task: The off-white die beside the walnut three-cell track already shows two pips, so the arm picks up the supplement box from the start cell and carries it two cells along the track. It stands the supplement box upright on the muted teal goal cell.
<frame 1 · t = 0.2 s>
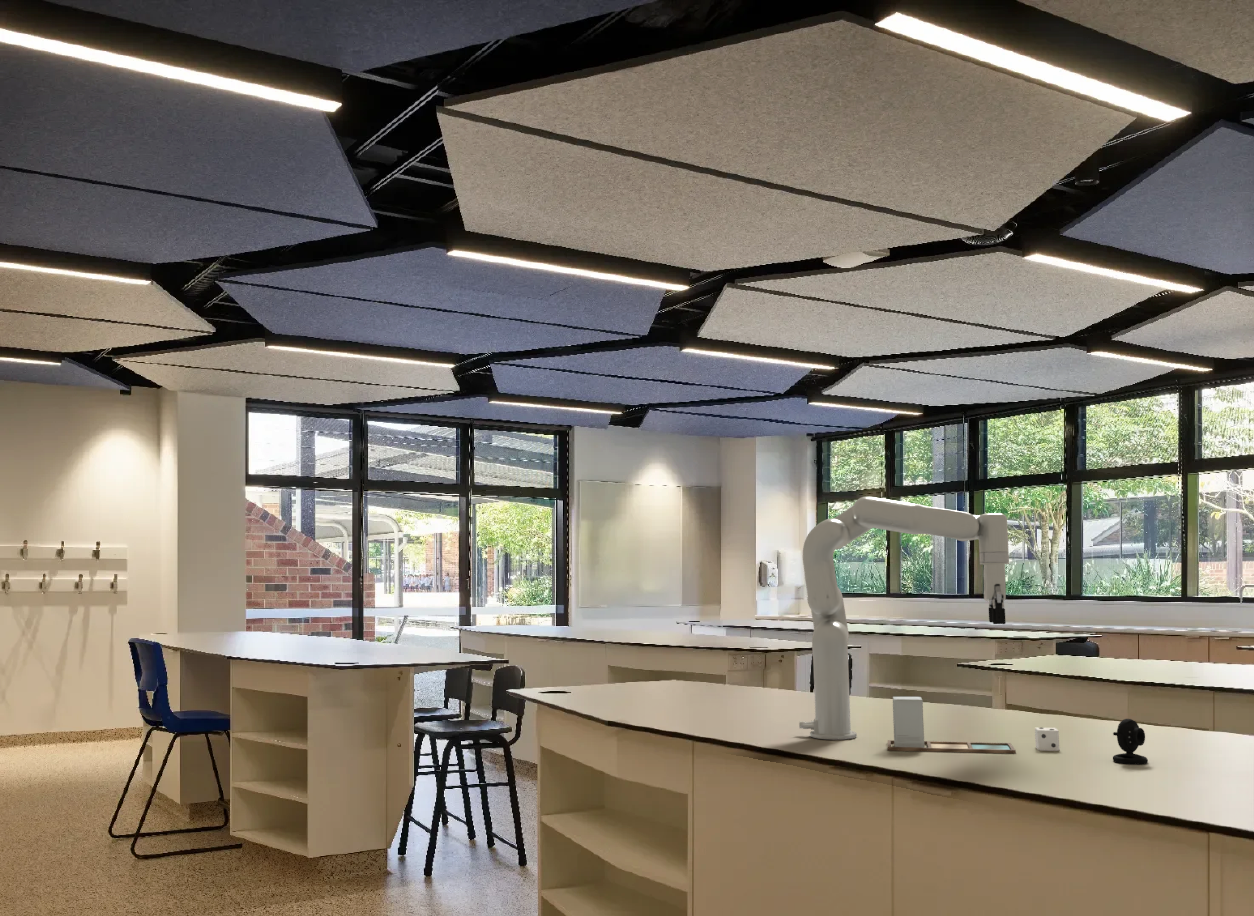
hand: (997, 623, 291), 31 cm above the worktop, tool pointing down, fingers open, 9 cm apart
supplement box: (909, 748, 279), resting on board
webcam: (1130, 762, 254), on the worktop
board: (949, 748, 277), on the worktop
die: (1047, 749, 274), on the worktop
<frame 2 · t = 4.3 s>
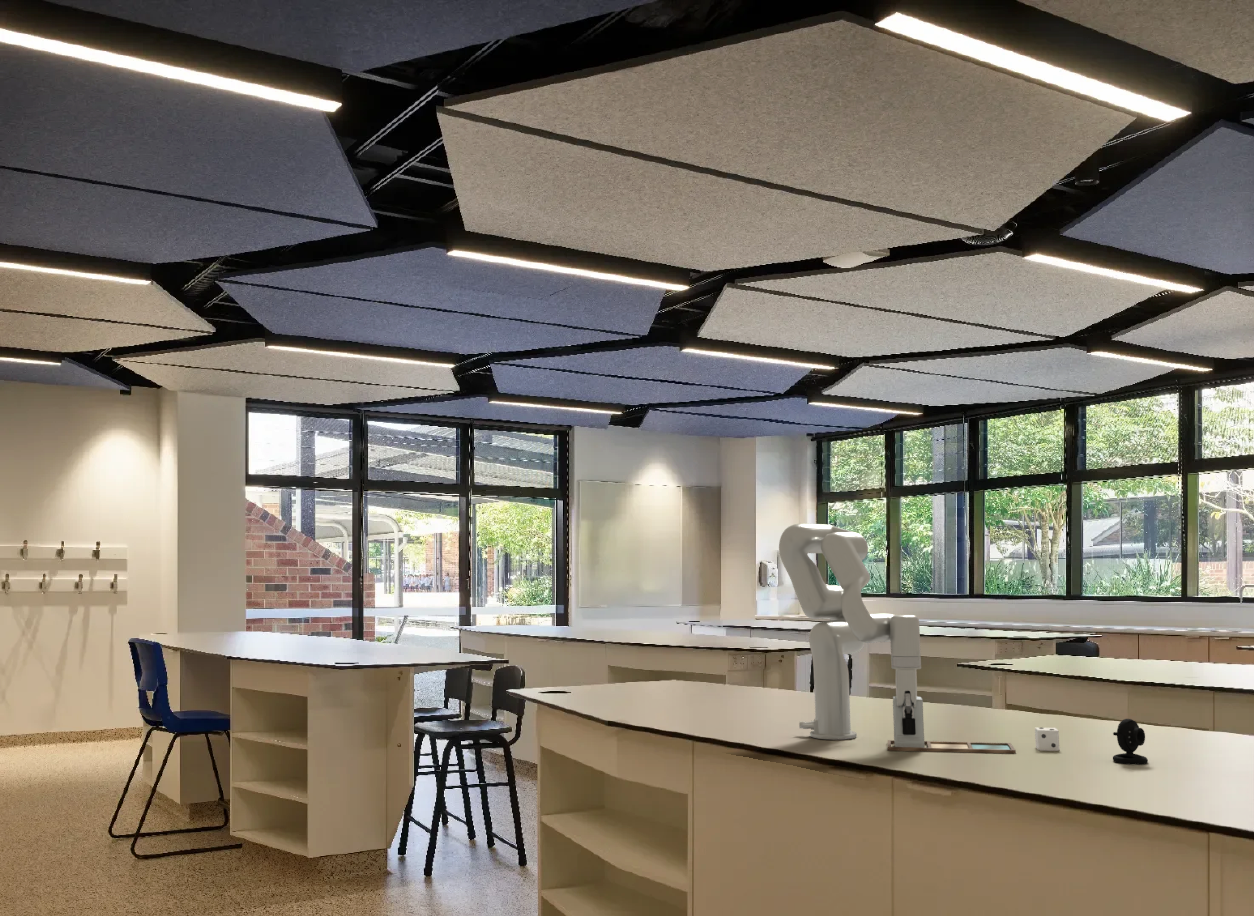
hand: (908, 731, 280), 4 cm above the worktop, tool pointing down, fingers closed on supplement box, 7 cm apart
supplement box: (909, 748, 279), resting on board, touching gripper
everything else where it was.
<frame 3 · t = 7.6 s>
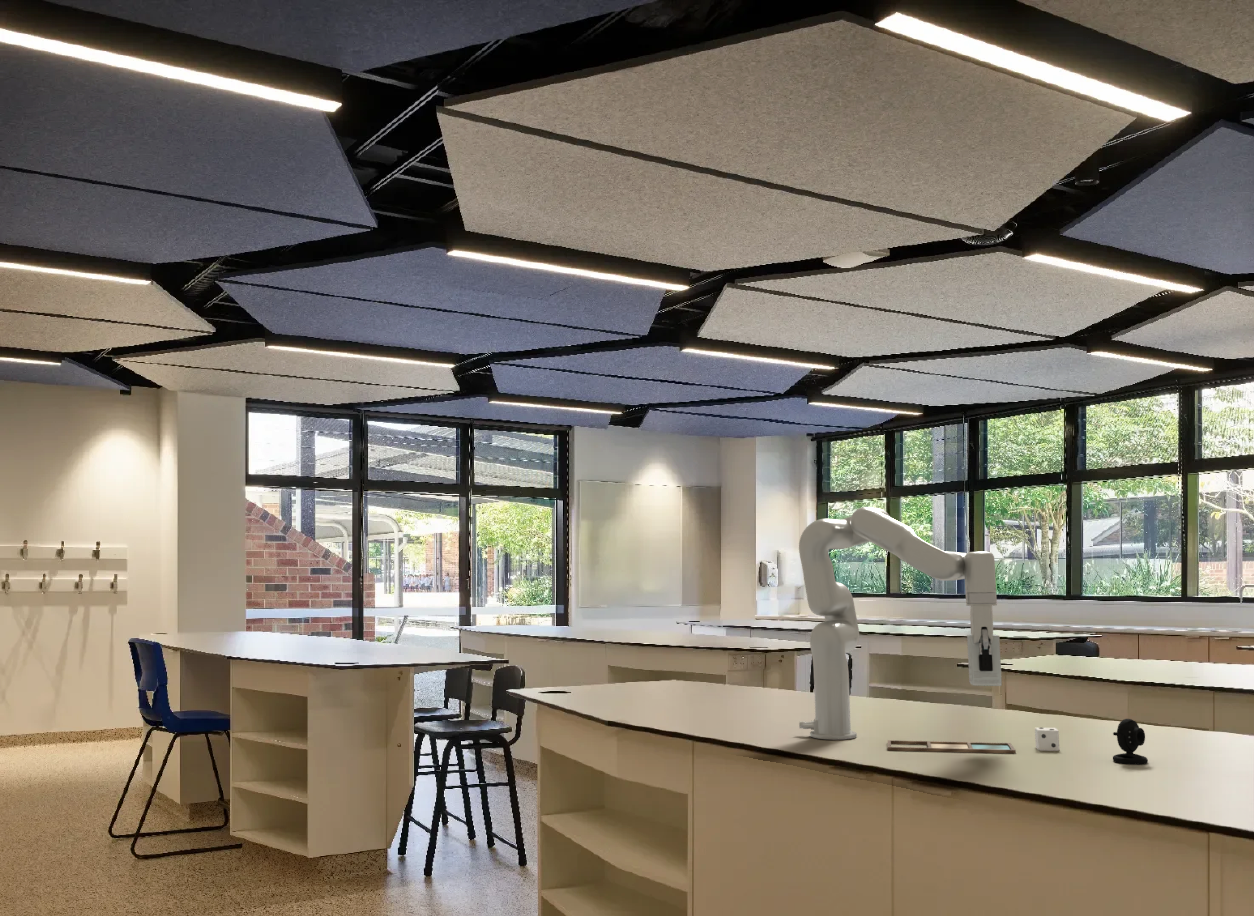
hand: (984, 669, 277), 20 cm above the worktop, tool pointing down, fingers closed on supplement box, 7 cm apart
supplement box: (985, 685, 277), point 16 cm above the worktop, touching gripper
everything else where it was.
when the fingers open (5 cm above the worktop, at t = 11.0 s): supplement box drops 1 cm, resting on board.
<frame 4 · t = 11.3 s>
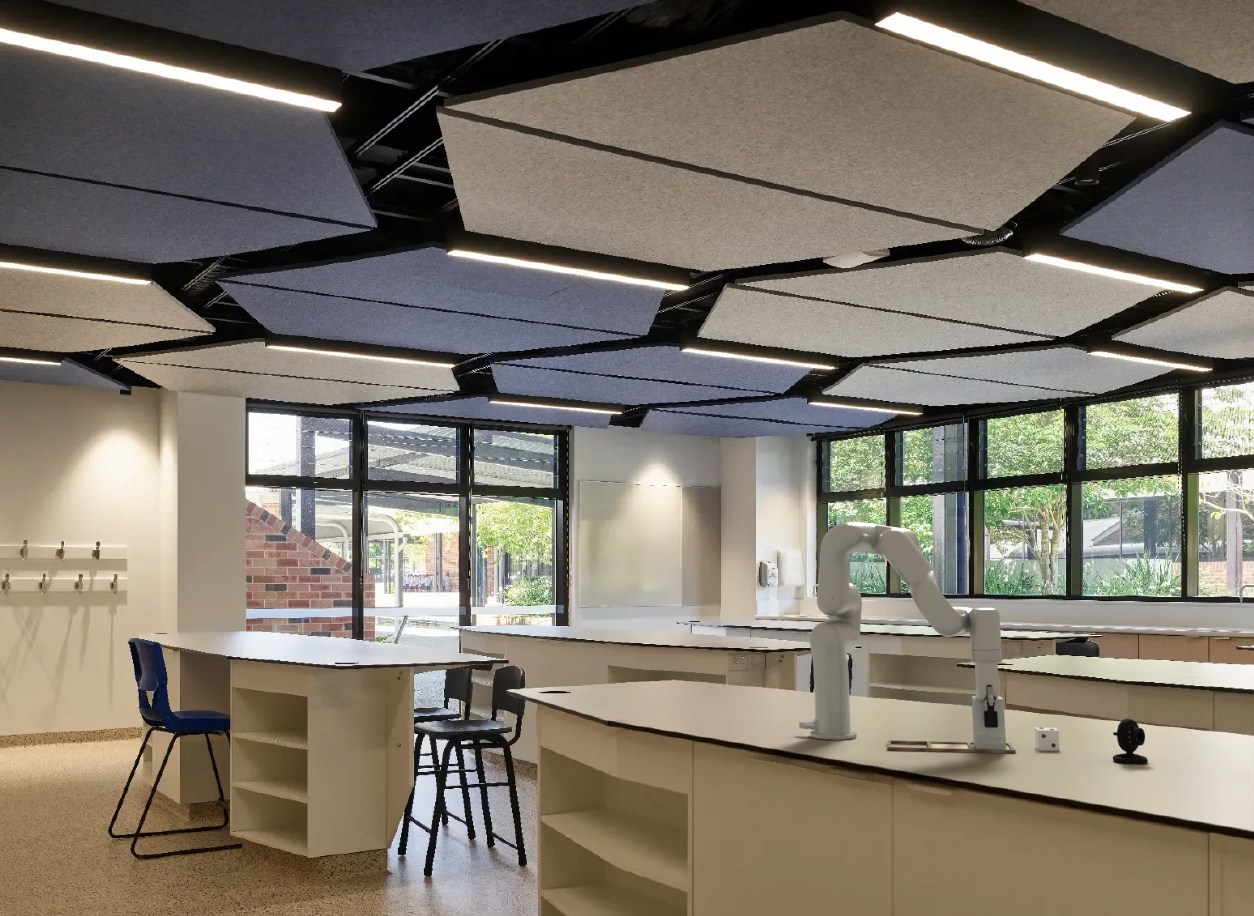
hand: (989, 724, 275), 6 cm above the worktop, tool pointing down, fingers open, 9 cm apart
supplement box: (989, 748, 275), resting on board
everything else where it was.
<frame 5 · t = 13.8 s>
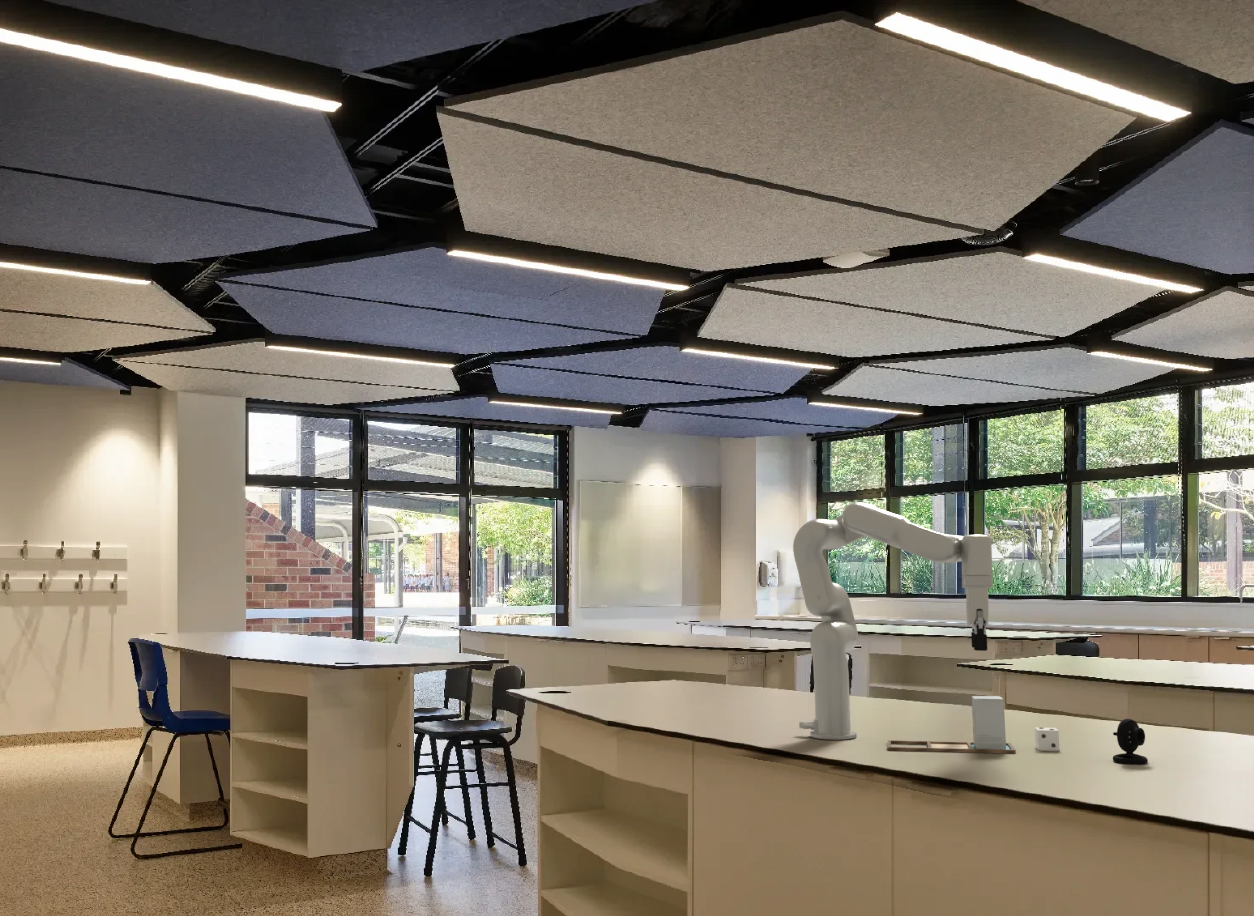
hand: (979, 648, 280), 25 cm above the worktop, tool pointing down, fingers open, 9 cm apart
nothing on the worktop moved.
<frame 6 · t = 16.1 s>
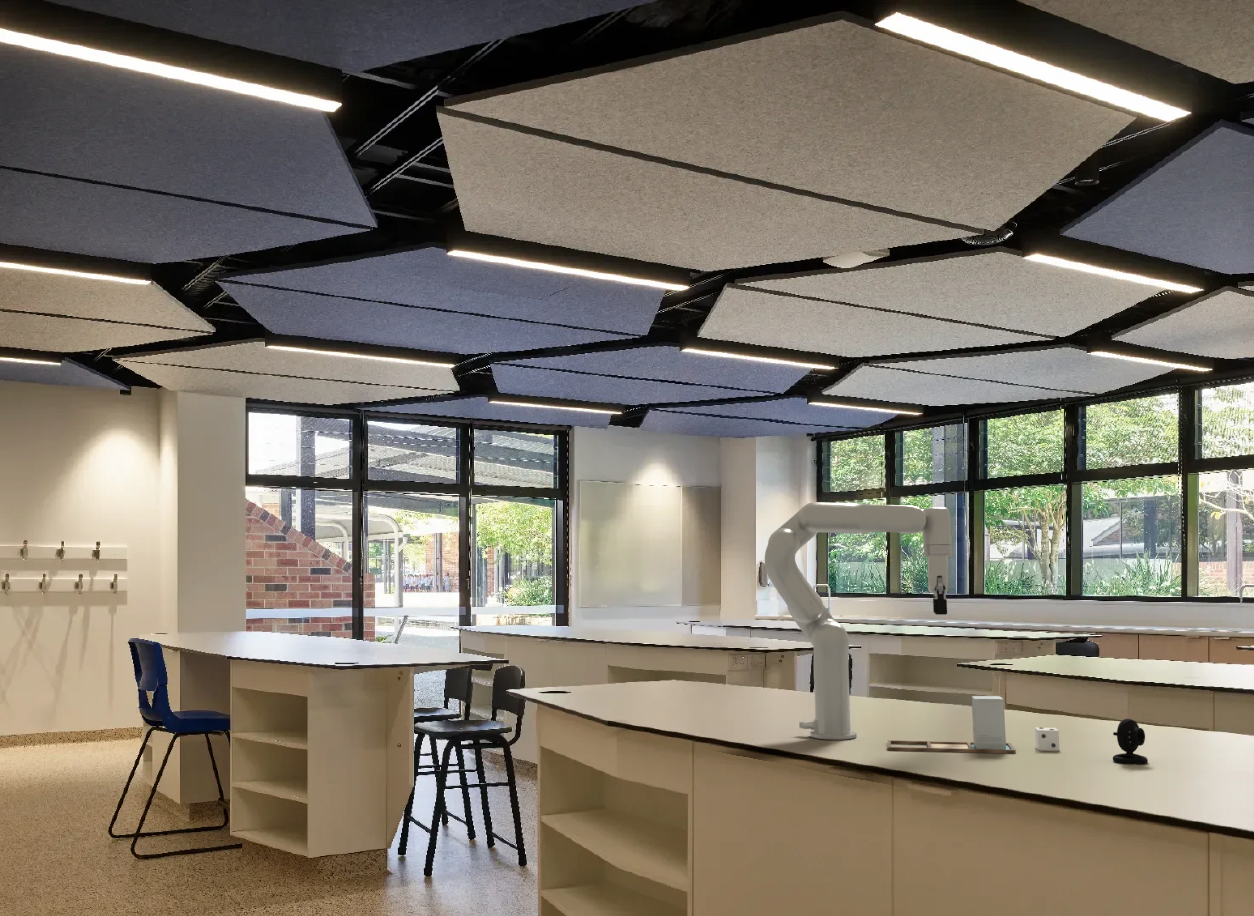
hand: (940, 613, 300), 33 cm above the worktop, tool pointing down, fingers open, 9 cm apart
nothing on the worktop moved.
at the end: supplement box 0.4 cm from the target spot on the board, point 0.1 cm above the board's base; supplement box tilted 0°; the gripper is holding nothing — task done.
